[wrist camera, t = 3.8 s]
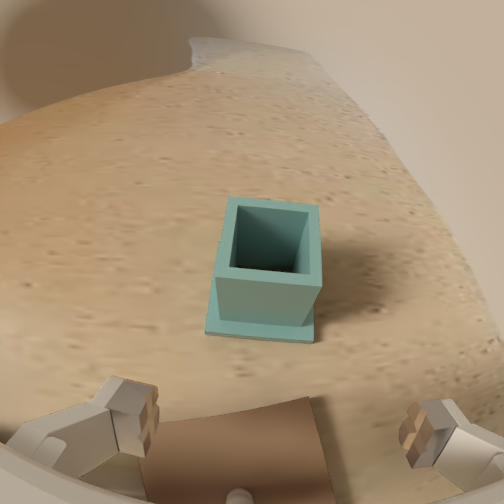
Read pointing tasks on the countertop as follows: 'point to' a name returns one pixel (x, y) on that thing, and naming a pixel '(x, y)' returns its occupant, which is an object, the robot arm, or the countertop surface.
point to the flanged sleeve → (266, 272)
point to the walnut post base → (239, 459)
